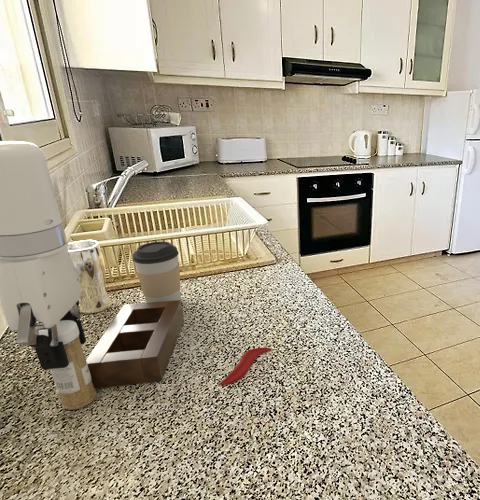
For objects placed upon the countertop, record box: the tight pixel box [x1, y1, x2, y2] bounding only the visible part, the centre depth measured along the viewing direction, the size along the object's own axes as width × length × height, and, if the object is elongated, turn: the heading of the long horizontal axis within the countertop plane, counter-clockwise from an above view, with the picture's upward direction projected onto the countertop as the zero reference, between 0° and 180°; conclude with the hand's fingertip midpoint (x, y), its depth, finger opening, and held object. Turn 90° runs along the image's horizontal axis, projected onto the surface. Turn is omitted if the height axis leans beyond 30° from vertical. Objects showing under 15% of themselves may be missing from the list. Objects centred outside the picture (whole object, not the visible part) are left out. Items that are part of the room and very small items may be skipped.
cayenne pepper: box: [218, 347, 272, 386], centre depth 67 cm, size 12×5×2 cm, turn 141°
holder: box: [86, 299, 185, 390], centre depth 70 cm, size 11×19×5 cm, turn 12°
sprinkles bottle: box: [39, 320, 97, 411], centre depth 56 cm, size 5×5×13 cm
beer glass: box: [67, 239, 113, 315], centre depth 82 cm, size 7×7×15 cm
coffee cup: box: [132, 240, 182, 303], centre depth 83 cm, size 9×9×15 cm
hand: (65, 354), depth 55 cm, fingers open, 4 cm apart
